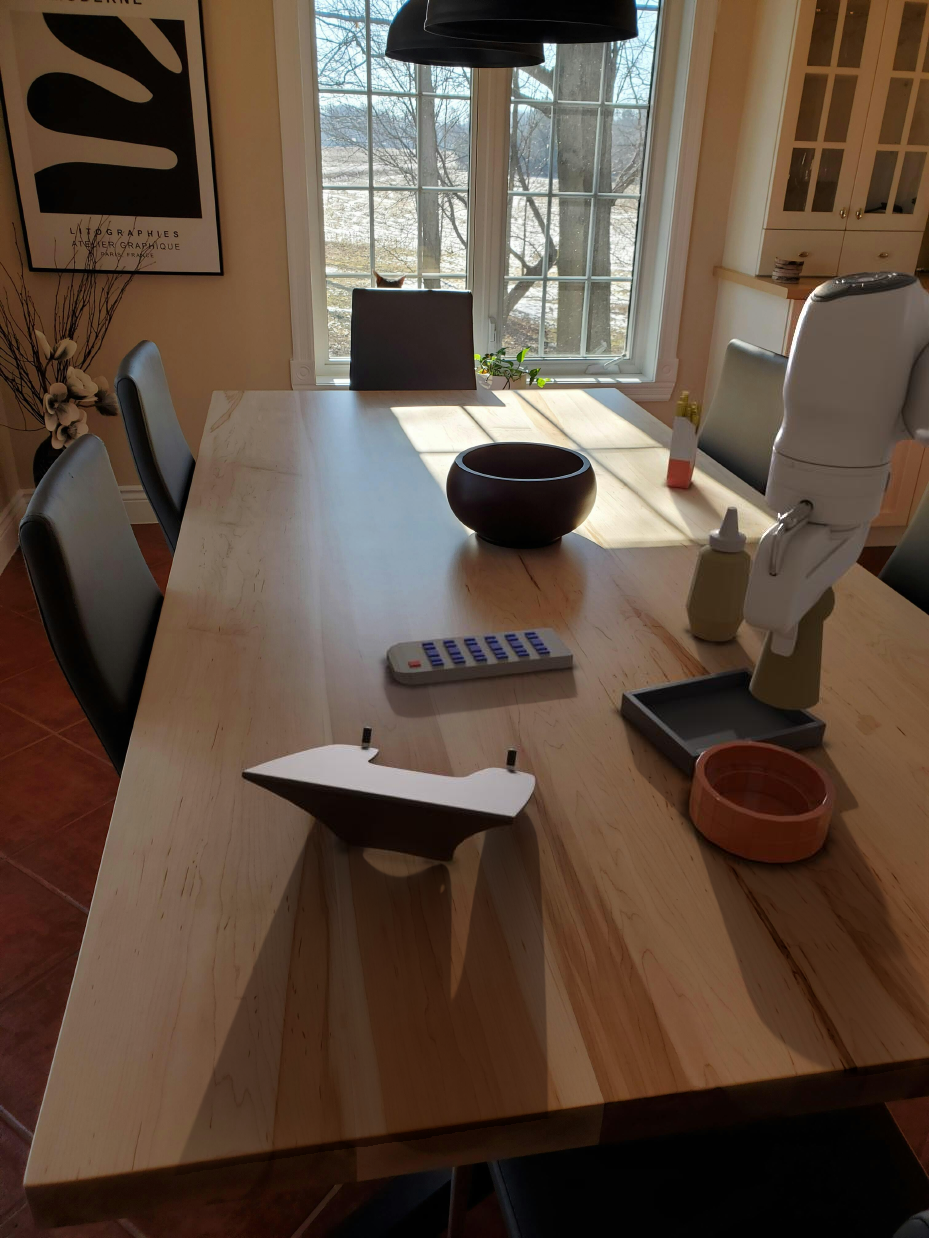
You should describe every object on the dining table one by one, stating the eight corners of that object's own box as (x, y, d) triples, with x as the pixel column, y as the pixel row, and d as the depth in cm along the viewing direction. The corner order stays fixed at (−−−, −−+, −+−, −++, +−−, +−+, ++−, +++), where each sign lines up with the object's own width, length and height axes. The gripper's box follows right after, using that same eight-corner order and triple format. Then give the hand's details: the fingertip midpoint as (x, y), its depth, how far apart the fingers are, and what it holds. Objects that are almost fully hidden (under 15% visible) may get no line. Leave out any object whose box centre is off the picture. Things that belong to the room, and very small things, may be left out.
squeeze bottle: (727, 618, 127) (747, 497, 120) (752, 644, 120) (776, 517, 112) (673, 621, 126) (690, 499, 118) (696, 648, 119) (716, 519, 111)
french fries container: (694, 478, 189) (707, 391, 181) (687, 492, 179) (700, 402, 172) (672, 475, 190) (684, 389, 182) (664, 489, 181) (676, 399, 173)
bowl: (764, 771, 94) (773, 731, 92) (853, 845, 84) (865, 802, 82) (663, 797, 90) (669, 755, 88) (744, 879, 79) (754, 834, 77)
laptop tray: (537, 843, 92) (548, 753, 92) (504, 908, 69) (519, 790, 69) (325, 806, 96) (336, 721, 96) (229, 857, 74) (243, 746, 74)
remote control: (572, 668, 114) (573, 653, 113) (396, 687, 108) (397, 671, 107) (550, 640, 121) (551, 625, 120) (384, 656, 115) (384, 640, 114)
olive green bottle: (781, 715, 77) (804, 600, 72) (735, 683, 82) (753, 572, 77) (834, 701, 80) (860, 588, 75) (786, 670, 85) (807, 562, 80)
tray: (743, 685, 110) (746, 666, 109) (822, 743, 99) (826, 723, 98) (620, 711, 104) (622, 692, 103) (689, 777, 93) (693, 756, 92)
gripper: (823, 531, 63) (789, 699, 69) (897, 467, 78) (864, 610, 84) (737, 512, 67) (712, 674, 73) (824, 454, 81) (797, 593, 88)
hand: (794, 639), depth 79 cm, fingers closed on olive green bottle, 4 cm apart
